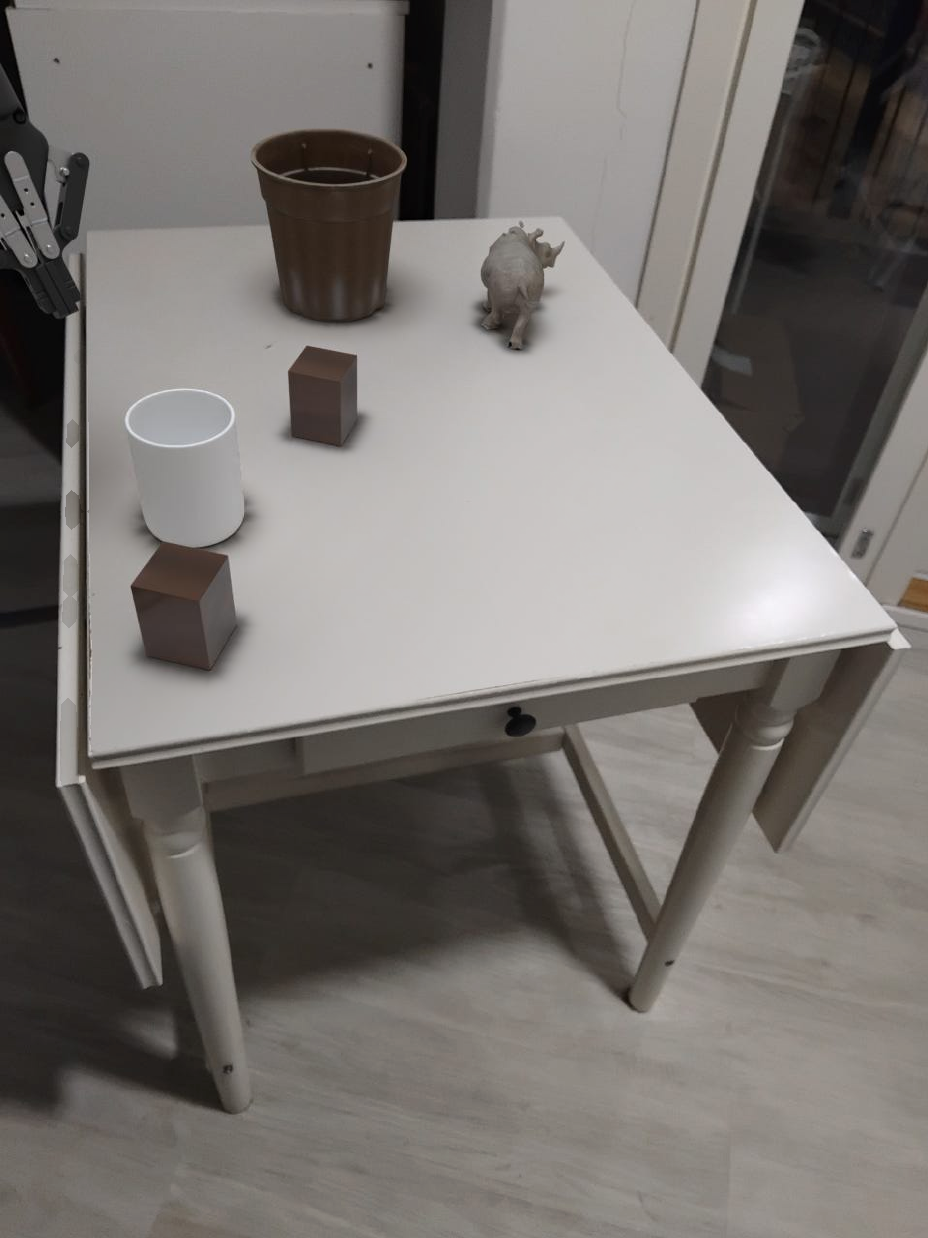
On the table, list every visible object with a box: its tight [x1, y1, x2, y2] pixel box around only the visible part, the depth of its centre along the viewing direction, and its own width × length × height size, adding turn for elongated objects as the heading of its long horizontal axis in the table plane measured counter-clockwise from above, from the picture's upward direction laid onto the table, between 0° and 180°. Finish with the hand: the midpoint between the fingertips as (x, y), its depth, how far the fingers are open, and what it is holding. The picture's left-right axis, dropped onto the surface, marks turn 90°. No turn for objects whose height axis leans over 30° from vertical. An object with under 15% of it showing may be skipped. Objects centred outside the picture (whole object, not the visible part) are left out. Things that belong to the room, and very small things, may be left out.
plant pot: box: [250, 128, 408, 323], centre depth 105 cm, size 16×16×16 cm
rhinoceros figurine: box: [480, 220, 566, 351], centre depth 108 cm, size 8×14×15 cm
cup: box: [124, 388, 245, 549], centre depth 78 cm, size 8×12×10 cm
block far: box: [287, 345, 358, 447], centre depth 89 cm, size 5×5×7 cm
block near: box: [130, 541, 238, 671], centre depth 68 cm, size 5×5×7 cm
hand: (67, 314), depth 69 cm, fingers closed
